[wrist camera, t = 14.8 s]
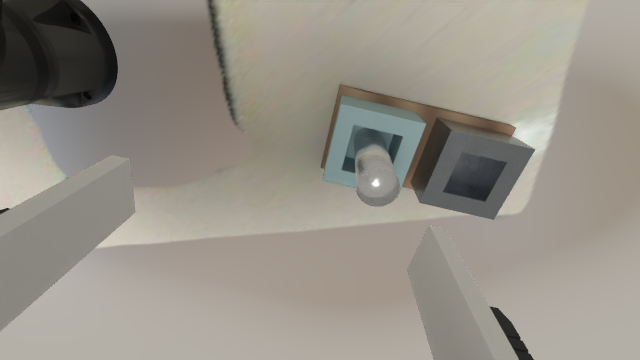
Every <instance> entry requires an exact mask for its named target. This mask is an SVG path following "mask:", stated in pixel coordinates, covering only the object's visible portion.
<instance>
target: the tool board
mask: <svg viewBox="0 0 640 360" xmlns="http://www.w3.org/2000/svg"><path fill="white" fill-rule="evenodd" d="M342 95H345V96H349V97H353V98H358V99H362V100H366V101H370V102H375V103H379V104H383V105H387V106H392V107H396V108H400V109H404V110H409V111H413V112H415V113H416V114H417V115H418V116H419V117H420V118H421V119H422V120H423V121H424V122H425V123H426V126H425V128H424V131H423V133H422V136H421V139H420V141H419V144H418V146H417V149H416V151H415V154H414V156H413V159H412V162H411V164H410V167H409V169H408V172H407V174H406V177H405V179H404V182H403V185H402V187H406V188H411V189H413V187H412V185H411V179H412V177H413V174H414V172H415V170H416V167H417V165H418V162H419V160H420V157H421V155H422V152H423V150H424V147H425V145H426V142H427V140H428V137H429V135H430V132H431V130H432V127H433V125H434V123H435V120H436V118H437V117H438V118H442V119H447V120H451V121H455V122H459V123H464V124H468V125H472V126H476V127H481V128H485V129H489V130H493V131H498V132H502V133H506V134H509V135H511V136H512V135H513V133H514V131H515V129H516V128H515V127H513V126H512V125H509V124H505V123H500V122H496V121H492V120H488V119H483V118H479V117H475V116H471V115H467V114H462V113H458V112H454V111H450V110H445V109H441V108H437V107H433V106H428V105H424V104H420V103H416V102H412V101H407V100H403V99H399V98H395V97H390V96H386V95H382V94H378V93H374V92H369V91H365V90H361V89H357V88H352V87H348V86H344V85H340V87H339V92H338V96H337V100H336V104H335V109H334V113H333V117H332V121H331V126H330V130H329V134H328V138H327V143H326V147H325V151H324V155H323V160H322V164H321V168H325V162H326V158H327V154H328V150H329V146H330V142H331V137H332V133H333V129H334V125H335V121H336V117H337V113H338V109H339V104H340V100H341V96H342Z"/></svg>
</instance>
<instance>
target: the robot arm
mask: <svg viewBox="0 0 640 360" xmlns="http://www.w3.org/2000/svg"><path fill="white" fill-rule="evenodd" d="M117 73H118V65H117V57H116V53H115V49H114V46H113V43H112V41H111V39H110V37H109V34H108V33H107V31H106V29H105V27H104V26H103V24H102V23H101V21H100V20H99V19H98V17H97V16H96V15H95V14H94V13H93V12H92V11H91V10H90V9H89V8H88V7H87V6H86V5H85V4H84V3H83V2H82V1H80V0H0V110H4V109H8V108H13V107H17V106H22V105H27V104H39V105H47V106H56V107H66V108H78V107H84V106H87V105H92V104H95V103H98V102H100V101H102V100H104V99H105V98H106V97H107V96H108V95H109V94H110V93H111V91H112V90H113V88H114V86H115V83H116V79H117ZM134 213H135V206H134V195H133V185H132V174H131V164H130V159H128V158H124V157H119V156H114V155H110V156H109V157H107V158H105V159H103V160H101V161H99V162H97V163H95V164H94V165H92V166H90V167H88V168H86V169H84V170H82V171H80V172H79V173H77V174H75V175H73V176H71V177H69V178H67V179H65V180H64V181H62V182H60V183H58V184H56V185H54V186H52V187H51V188H49V189H47V190H45V191H43V192H41V193H39V194H37V195H36V196H34V197H32V198H30V199H28V200H26V201H24V202H23V203H21V204H19V205H17V206H15V207H13V208H11V209H9V208H6V209H3V210H0V331H1V330H2V329H3V328H4V327H6V326H7V325H8V324H9V323H10V322H11V321H13V320H14V319H15V318H16V317H17V316H18V315H19V314H21V313H22V312H23V311H24V310H25V309H26V308H27V307H28V306H29V305H31V304H32V303H33V302H34V301H35V300H36V299H37V298H39V297H40V296H41V295H42V294H43V293H44V292H45V291H47V290H48V289H49V288H50V287H51V286H52V285H53V284H55V282H57V281H58V280H59V279H60V278H61V277H62V276H64V275H65V274H66V273H67V272H68V271H69V270H70V269H72V268H73V267H74V266H75V265H76V264H77V263H78V262H79V261H81V260H82V259H83V258H84V257H85V256H86V255H87V254H88V253H90V252H91V251H92V250H93V249H94V248H95V247H96V246H98V245H99V244H100V243H101V242H102V241H103V240H104V239H106V238H107V237H108V236H109V235H110V234H111V233H112V232H113V231H115V230H116V229H117V228H118V227H119V226H120V225H121V224H123V223H124V222H125V221H126V220H127V219H128V218H129V217H130V216H132V215H133V214H134ZM407 271H408V275H409V278H410V281H411V285H412V288H413V291H414V294H415V298H416V301H417V305H418V308H419V311H420V315H421V318H422V322H423V325H424V328H425V332H426V335H427V339H428V342H429V345H430V349H431V352H432V355H433V359H434V360H534V359H533V358H532V356H531V354H529V353H528V349H527V348H526V346H525V344H524V343H523V341H521V340H520V336H519V334H518V333H517V331H516V329H515V328H514V326H513V324H512V323H511V322H510V321H509V319H508V318H507V317H506V316H505V315H504V314H503V313H502V312H501V311H500V310H499V309H498V308H494V307H490V306H489V305H488V303H487V301H486V300H485V298H484V296H483V295H482V292H481V291H480V289H479V287H478V285H477V283H476V282H475V280H474V278H473V276H472V275H471V273H470V271H469V269H468V268H467V266H466V264H465V262H464V260H463V258H462V257H461V255H460V253H459V251H458V249H457V248H456V246H455V244H454V243H453V241H452V239H451V237H450V235H449V233H448V232H447V230H446V228H443V227H438V226H433V225H429V226H428V228H427V230H426V232H425V234H424V236H423V238H422V240H421V242H420V244H419V246H418V248H417V250H416V252H415V254H414V256H413V259H412V260H411V262H410V264H409V266H408V268H407Z"/></svg>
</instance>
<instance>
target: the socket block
mask: <svg viewBox="0 0 640 360" xmlns="http://www.w3.org/2000/svg"><path fill="white" fill-rule="evenodd" d="M534 151H535V149H534V148H532V147H530V146H528V145H527V144H525V143H523V142H521V141H520V140H518V139H516V138H515V137H513V136H511V135H509V134H506V133H502V132H498V131H493V130H489V129H485V128H481V127H476V126H472V125H468V124H464V123H459V122H455V121H451V120H447V119H442V118H438V117H437V118H436V120H435V123H434V125H433V127H432V130H431V132H430V135H429V137H428V140H427V142H426V145H425V147H424V150H423V152H422V155H421V157H420V160H419V162H418V165H417V167H416V170H415V172H414V174H413V177H412V179H411V185H412V187H413V189H414V191H415V193H416V196H417V198H418V200H419V202H420V203H423V204H428V205H432V206H436V207H441V208H445V209H449V210H454V211H458V212H463V213H467V214H471V215H476V216H480V217H485V218H489V219H493V220H494V218H495V216H496V215H497V213H498V211H499V210H500V208H501V206H502V205H503V203H504V201H505V200H506V198H507V196H508V195H509V193H510V191H511V190H512V188H513V186H514V184H515V183H516V181H517V179H518V178H519V176H520V174H521V173H522V171H523V169H524V168H525V166H526V164H527V163H528V161H529V159H530V158H531V156H532V154H533V153H534Z"/></svg>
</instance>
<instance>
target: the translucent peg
mask: <svg viewBox="0 0 640 360" xmlns="http://www.w3.org/2000/svg"><path fill="white" fill-rule="evenodd" d="M353 143H354V158H355V172H356V187H357V194H358V196H359V198H360V199H361V200H362V201H363V202H364V203H366V204H368V205H371V206H384V205H387V204H389V203H391V202H392V201H393V200H395V198H396V197H397V196H398V194H399V191H400V182H399V179H398V177H397V174H396V171H395V169H394V166H393V163H392V161H391V158H390V155H389V153H388V150H387V147H386V145H385V142H384V139H383V137H382V134H381V133H380V131H378V130H374V129H370V128H366V127H364V128H361V129H360V130H359V131H357V133H356V134H355V136H354V139H353Z"/></svg>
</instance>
